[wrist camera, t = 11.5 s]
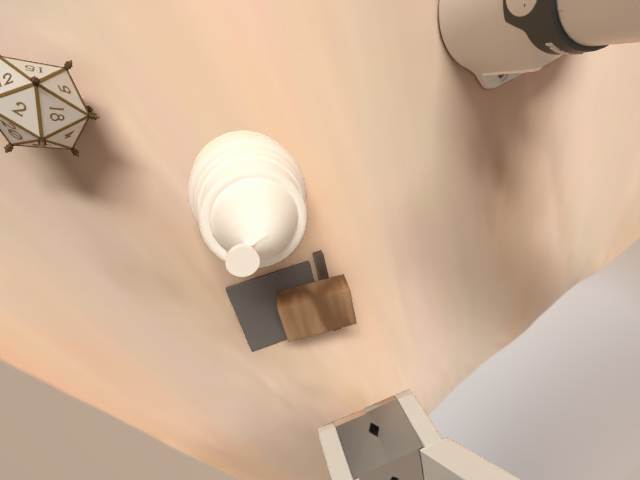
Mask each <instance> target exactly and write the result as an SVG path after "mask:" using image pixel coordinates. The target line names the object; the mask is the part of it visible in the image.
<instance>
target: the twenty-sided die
mask: <svg viewBox="0 0 640 480" xmlns="http://www.w3.org/2000/svg"><path fill="white" fill-rule="evenodd" d="M71 67H73V66H72V60H71V61H68V62H66V64H65V66H64V67H59V66H53V65H48V64H42V63H37V62H31V61H26V60H20V59H15V58H9V57H3V56H1V55H0V132H1V133H2V134H3V135H4V137H5V138H6V139H7V141H8V142H9V144H8V145H6V147H4V148H5V152H6V153H7V152H10V151H11V152H12V149H13V146H27V147H43V148H58V149H71V151H72V153H73V155H76V156H78V157H79V152H78V151H77V149H75V148H74V147H75V145H76V143H77V141H78V139H79V137H80V135H81V133H82V131H83V129H84V127H85V125H86V123H87V121H88V119H89V118H91V119H92V120H93V119H94V120H96V119H98V118H100V117H98V116H97V115H96V114H92V113H91V114H89V112H91V111H92V110H93V109H91V108H90V107H89V106H88V107H87V106H85V104H84V102H83V100H82V98H81V96H80V94H79V92H78V90H77V88H76V86H75V84H74V82H73V80H72V78H71V76H70V74H69V72H68V69H71Z"/></svg>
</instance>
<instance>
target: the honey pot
mask: <svg viewBox="0 0 640 480" xmlns="http://www.w3.org/2000/svg"><path fill="white" fill-rule="evenodd" d="M306 198H307V194H306V185H305V179H304V177H303V174H302V172H301V169H300V167H299V165H298V164H297V163H296V161H295V160H294V159H293V157H292V156H291V155H290V154H289V153H288V152H287V151H286V150H285V149H284V148H283V147H282V146H281V145H280V144H278V143H277V142H276V141H274V140H273V139H272V138H270V137H267V136H265V135H263V134H260V133H258V132H250V131H236V132H229V133H226V134H224V135H221V136H219V137H217V138H215V139H213V140H212V141H211V142H210V143H209V144H207V145H206V146H205V147H204V148H203V149H202V151H201V152H200V153H199V155H198V156H197V158H196V159H195V162H194V165H193V169H192V172H191V175H190V179H189V183H188V202H189V206H190V209H191V213H192V216H193V217H194V219H195V221H196V222H197V224H198V226H199V227H200V231H201V235H202V238H203V240H204V241H205V243H206V245H207V246H208V248H209V249H210V250H211V251H212V252H213V253H214V254H215V255H216V256H217V257H218V258H219V259H221V260H223V261H225V264H226V268H227V270H228V271H229V272H230V273H231V274H233V275H235V276H238V277H245V276H249V275H251V274H253V273H254V272H255V271H256V270H257V269H258V268H262V267H267V266H271V265H273V264H275V263H277V262H280V261H282V260H283V259H285V258H286V257H287V256H288V255H290V254H291V253H292V252H293V251H294V250H295V248H296V247H297V246H298V245H299V243H300V242H301V240H302V238H303V235H304V233H305V231H306V225H307V219H308V218H307V209H306Z"/></svg>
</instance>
